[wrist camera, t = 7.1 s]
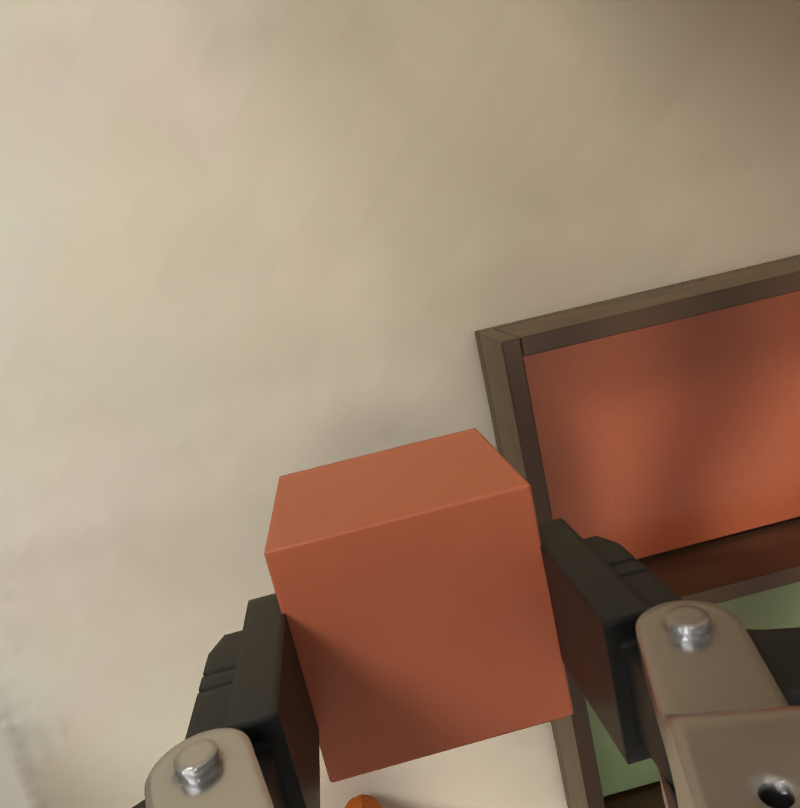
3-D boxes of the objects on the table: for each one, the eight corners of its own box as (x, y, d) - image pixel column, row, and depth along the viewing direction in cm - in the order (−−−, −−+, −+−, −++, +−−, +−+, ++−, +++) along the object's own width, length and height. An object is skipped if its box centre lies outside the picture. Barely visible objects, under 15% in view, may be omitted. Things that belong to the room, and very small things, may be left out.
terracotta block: (327, 654, 15) (330, 784, 12) (278, 476, 14) (262, 552, 11) (511, 605, 16) (574, 715, 12) (475, 426, 15) (531, 483, 11)
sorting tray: (567, 806, 28) (602, 883, 24) (474, 331, 23) (500, 342, 20) (882, 716, 29) (960, 778, 25) (848, 243, 24) (936, 238, 21)
